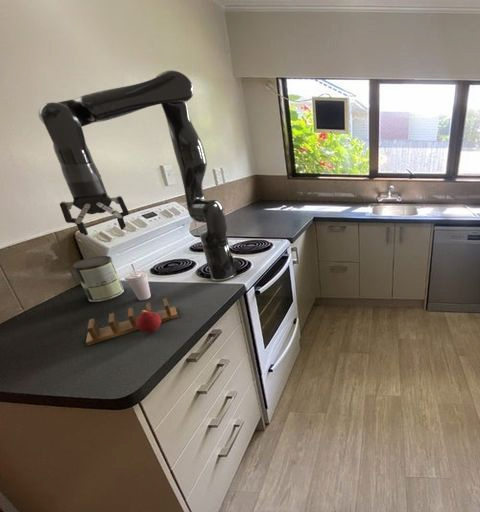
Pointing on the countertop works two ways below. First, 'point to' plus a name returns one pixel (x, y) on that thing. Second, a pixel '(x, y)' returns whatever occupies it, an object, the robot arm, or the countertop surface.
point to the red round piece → (148, 321)
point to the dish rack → (124, 324)
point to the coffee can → (98, 278)
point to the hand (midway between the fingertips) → (105, 231)
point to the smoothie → (139, 283)
